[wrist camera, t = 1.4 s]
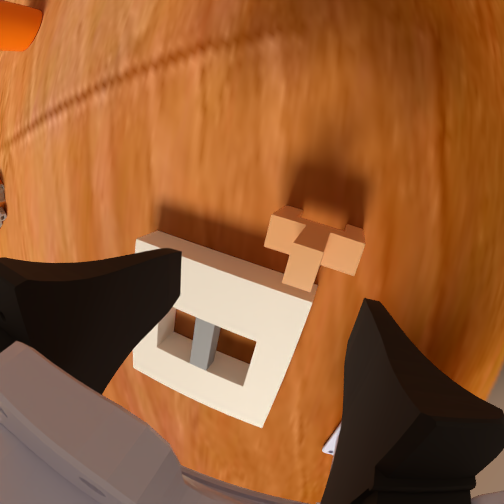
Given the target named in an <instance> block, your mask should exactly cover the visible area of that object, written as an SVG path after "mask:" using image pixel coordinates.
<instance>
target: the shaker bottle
mask: <svg viewBox="0 0 504 504" xmlns="http://www.w3.org/2000/svg"><path fill="white" fill-rule="evenodd" d="M41 21H42V11H41V10H38V9H35V8H31V7H28V6H24V5H20V4H16V3H12V2H8V1H3V0H0V51H24V50H26V49H27V48H28V47H29V46H30V44H31V43H32V41H33V40H34V38H35V36H36V34H37V32H38V30H39V28H40V25H41Z"/></svg>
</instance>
